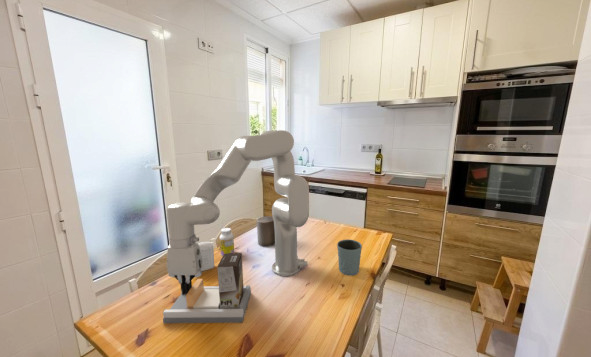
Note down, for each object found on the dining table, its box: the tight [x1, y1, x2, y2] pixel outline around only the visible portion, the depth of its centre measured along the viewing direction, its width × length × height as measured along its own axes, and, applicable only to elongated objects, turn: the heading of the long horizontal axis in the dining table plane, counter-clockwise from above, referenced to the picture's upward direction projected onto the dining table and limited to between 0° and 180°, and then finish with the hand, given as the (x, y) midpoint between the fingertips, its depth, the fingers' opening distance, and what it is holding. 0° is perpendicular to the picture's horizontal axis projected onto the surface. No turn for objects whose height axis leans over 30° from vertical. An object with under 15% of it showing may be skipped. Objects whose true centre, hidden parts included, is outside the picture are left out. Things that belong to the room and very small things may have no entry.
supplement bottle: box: [219, 227, 235, 257], centre depth 118 cm, size 7×7×13 cm
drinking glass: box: [336, 239, 363, 277], centre depth 102 cm, size 10×10×12 cm
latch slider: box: [186, 278, 220, 309], centre depth 81 cm, size 10×9×6 cm
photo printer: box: [198, 241, 215, 272], centre depth 105 cm, size 10×4×12 cm, turn 123°
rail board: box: [162, 284, 252, 324], centre depth 81 cm, size 25×14×4 cm, turn 90°
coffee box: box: [216, 252, 244, 309], centre depth 80 cm, size 9×6×16 cm
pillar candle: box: [256, 216, 275, 248], centre depth 130 cm, size 10×10×15 cm
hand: (186, 291), depth 81 cm, fingers closed
